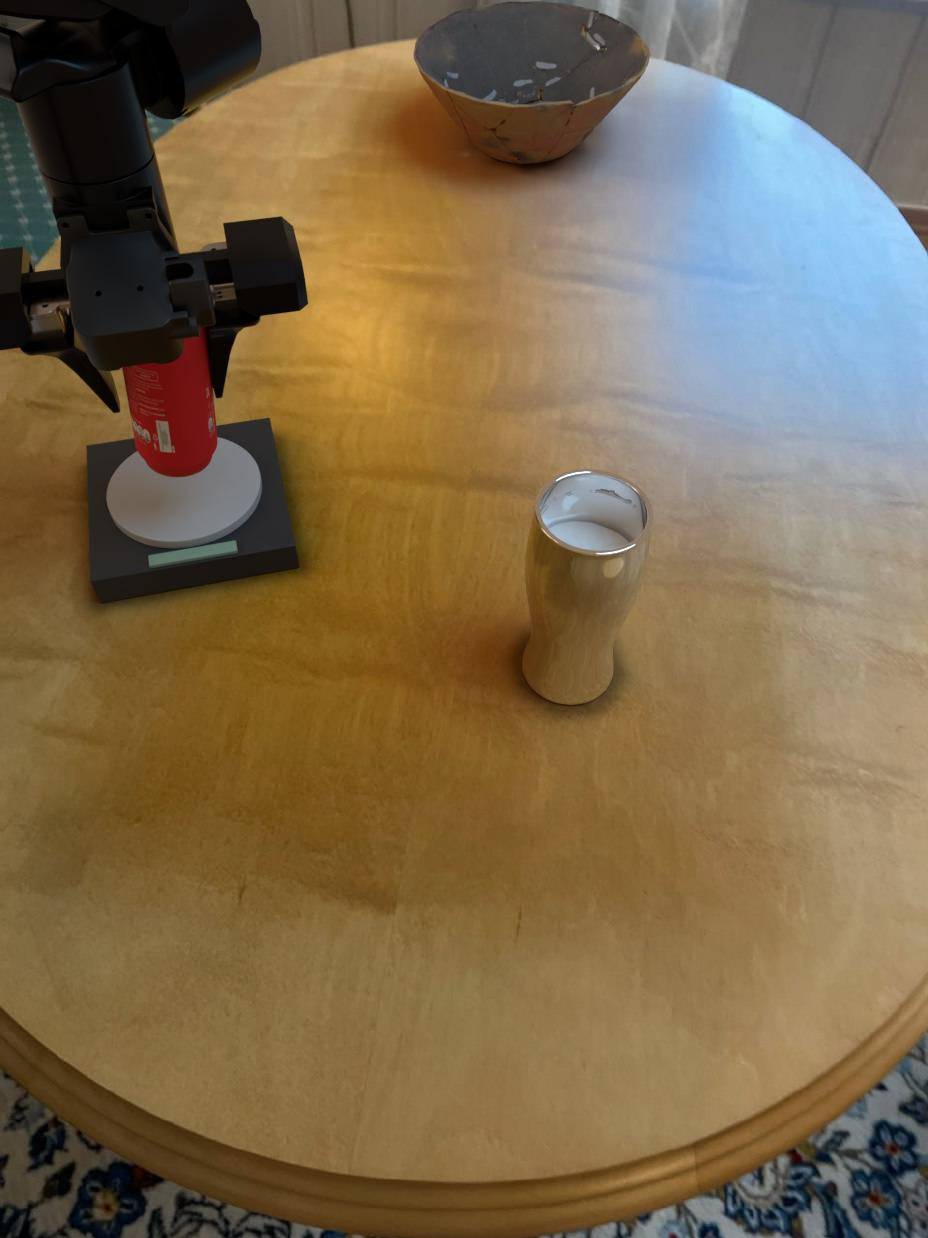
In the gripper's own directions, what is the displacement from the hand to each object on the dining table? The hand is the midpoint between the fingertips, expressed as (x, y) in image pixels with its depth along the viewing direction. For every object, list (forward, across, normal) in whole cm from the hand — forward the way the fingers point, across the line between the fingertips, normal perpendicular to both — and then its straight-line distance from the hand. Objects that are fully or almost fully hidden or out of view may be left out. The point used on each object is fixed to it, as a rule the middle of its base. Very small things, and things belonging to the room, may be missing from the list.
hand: (168, 401), depth 61 cm
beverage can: (+5, 0, 0) cm, 5 cm away
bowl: (+14, +39, +54) cm, 68 cm away
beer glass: (+13, +22, -17) cm, 31 cm away
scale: (+13, -1, +3) cm, 14 cm away
